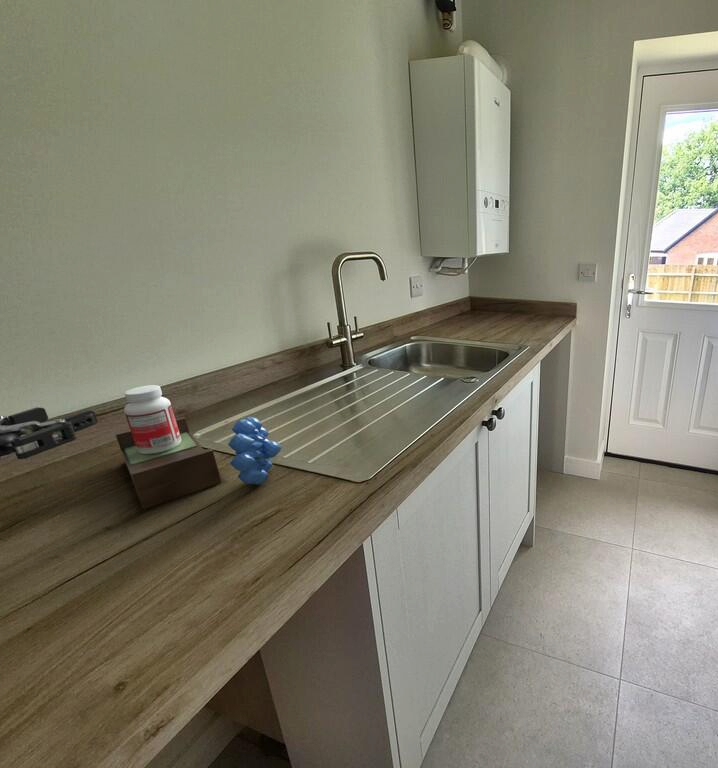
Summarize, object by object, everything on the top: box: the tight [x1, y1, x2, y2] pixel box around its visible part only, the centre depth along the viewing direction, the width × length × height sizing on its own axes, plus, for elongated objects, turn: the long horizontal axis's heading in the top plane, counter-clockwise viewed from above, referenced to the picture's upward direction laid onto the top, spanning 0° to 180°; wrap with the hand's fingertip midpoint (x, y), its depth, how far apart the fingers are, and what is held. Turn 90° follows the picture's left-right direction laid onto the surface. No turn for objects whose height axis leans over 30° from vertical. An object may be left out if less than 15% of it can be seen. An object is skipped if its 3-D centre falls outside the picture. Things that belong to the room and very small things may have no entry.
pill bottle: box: [123, 384, 181, 454], centre depth 72 cm, size 6×6×11 cm
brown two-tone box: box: [114, 416, 222, 510], centre depth 70 cm, size 10×21×6 cm, turn 48°
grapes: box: [227, 416, 283, 486], centre depth 66 cm, size 12×7×12 cm, turn 16°
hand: (68, 414), depth 60 cm, fingers open, 8 cm apart
